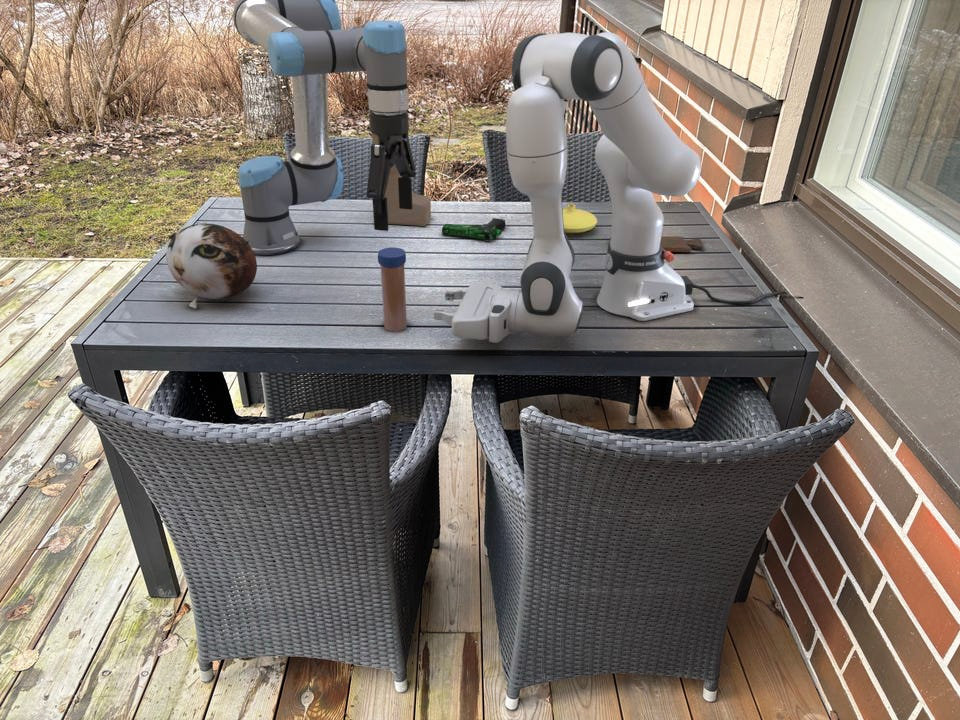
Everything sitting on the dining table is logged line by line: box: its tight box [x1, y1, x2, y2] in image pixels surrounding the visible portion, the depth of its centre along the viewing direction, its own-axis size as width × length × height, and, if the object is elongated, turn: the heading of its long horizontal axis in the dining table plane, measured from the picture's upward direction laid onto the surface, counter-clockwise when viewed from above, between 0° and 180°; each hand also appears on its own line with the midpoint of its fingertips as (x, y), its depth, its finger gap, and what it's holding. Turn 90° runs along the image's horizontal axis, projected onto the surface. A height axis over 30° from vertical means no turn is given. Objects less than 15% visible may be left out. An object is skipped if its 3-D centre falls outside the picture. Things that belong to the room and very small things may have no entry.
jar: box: [379, 264, 408, 332], centre depth 153 cm, size 5×5×17 cm
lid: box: [377, 246, 407, 267], centre depth 149 cm, size 6×6×2 cm
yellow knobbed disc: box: [562, 203, 598, 234], centre depth 209 cm, size 16×16×7 cm
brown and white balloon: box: [165, 222, 258, 309], centre depth 165 cm, size 22×18×20 cm
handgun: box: [441, 217, 506, 242], centre depth 207 cm, size 16×3×15 cm
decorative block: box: [371, 133, 432, 227], centre depth 207 cm, size 8×15×30 cm, turn 82°
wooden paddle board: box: [609, 235, 704, 253], centre depth 200 cm, size 26×2×10 cm
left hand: (394, 218), depth 147 cm, fingers open, 13 cm apart
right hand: (440, 304), depth 152 cm, fingers open, 8 cm apart
